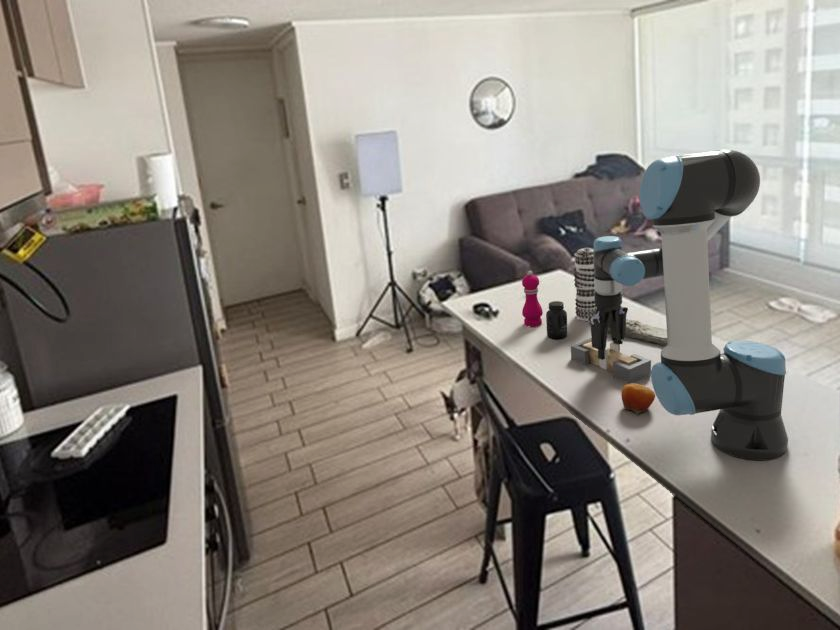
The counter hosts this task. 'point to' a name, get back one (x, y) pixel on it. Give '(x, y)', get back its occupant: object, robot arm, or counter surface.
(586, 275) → the decorative candle
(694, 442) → the counter surface
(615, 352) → the oak slat
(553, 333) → the supplement bottle
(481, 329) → the counter surface
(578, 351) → the end caps
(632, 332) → the long grey stone
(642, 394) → the fruit
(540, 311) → the pepper mill
